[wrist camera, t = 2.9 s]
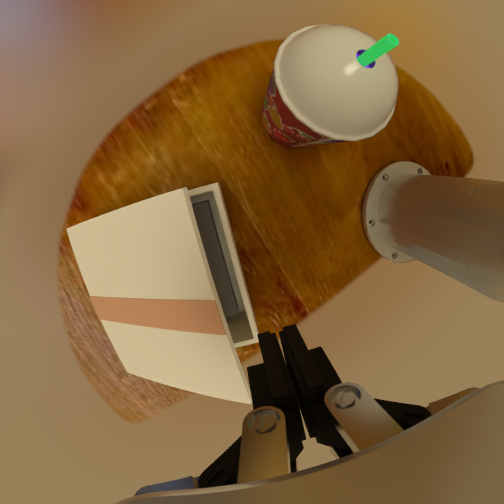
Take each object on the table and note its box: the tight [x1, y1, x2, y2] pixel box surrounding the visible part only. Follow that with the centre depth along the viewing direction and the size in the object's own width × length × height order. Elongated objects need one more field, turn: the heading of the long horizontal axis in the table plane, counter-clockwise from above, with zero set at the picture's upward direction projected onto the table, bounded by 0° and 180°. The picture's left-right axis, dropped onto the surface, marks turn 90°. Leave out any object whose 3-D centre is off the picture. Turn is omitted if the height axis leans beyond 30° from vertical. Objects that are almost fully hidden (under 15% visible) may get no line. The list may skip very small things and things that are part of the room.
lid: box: [67, 187, 252, 404], centre depth 20 cm, size 14×16×1 cm
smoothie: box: [261, 24, 399, 147], centre depth 18 cm, size 8×8×20 cm
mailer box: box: [188, 182, 259, 348], centre depth 27 cm, size 14×15×7 cm
